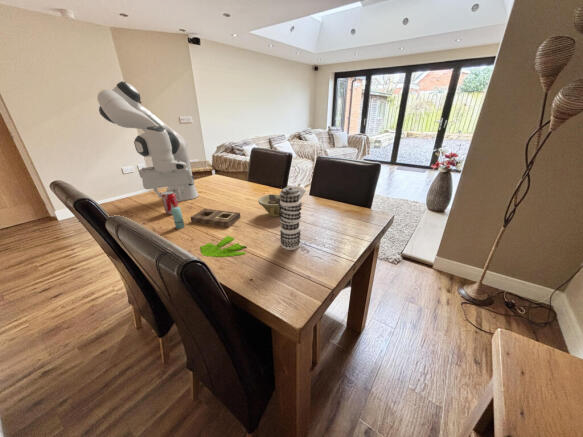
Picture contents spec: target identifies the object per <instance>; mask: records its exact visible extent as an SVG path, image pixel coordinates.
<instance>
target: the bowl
mask: <svg viewBox="0 0 583 437" xmlns="http://www.w3.org/2000/svg"><path fill="white" fill-rule="evenodd" d="M280 199H281V198H280V194H267V195H263V196H261V197H259V198H258V199H257V200H258V201H257V202H258V204H259V205H260V206H262V207H263V209H264V210H265V211H266V212H267V213H268V216H270V217H271V218H272V219H274V218H280V214H279V212H280V211H279V206H278V204H279V202H280ZM280 210H281V209H280Z"/></svg>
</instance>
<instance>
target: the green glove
mask: <svg viewBox="0 0 583 437" xmlns="http://www.w3.org/2000/svg"><path fill="white" fill-rule="evenodd" d="M234 240H235V238H234V237H232V236H229V235H227V236H225V237H224V238H223V239H222V240H221V241H219V242H218V243H217V244H215V245H214V244H213V243H210V242H207V243H206V244H205V245H201V246H200V247H199V248H200V254H201V255H202V254H203V256H205V257H212V258H228V257H236V256H237V257H238V256H243V255H247V252H246V251H243V249H247V248H248V247H247V246H245V245H241V244H240V243H239V242H237V243H234V244H231V246H228V247H224V246H226V245H228V244H230V243H232V242H233V241H234ZM221 248H222V249H221Z"/></svg>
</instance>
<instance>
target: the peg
mask: <svg viewBox="0 0 583 437" xmlns="http://www.w3.org/2000/svg"><path fill="white" fill-rule="evenodd" d="M171 210H172V214H171V215H172V218H173V223H174V225H175V229H177V230H181V229H184V228H185V222H184V217H183V212H182V209H181V207H180V206H178V207H174V208H172V209H171Z"/></svg>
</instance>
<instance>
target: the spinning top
mask: <svg viewBox="0 0 583 437" xmlns="http://www.w3.org/2000/svg"><path fill="white" fill-rule="evenodd" d="M293 187H294V188H297V190H298V191H300V194H299V199H300V200H301V199H302V198H303V197H304V195H306V194H305V193H306V188H305V186H304V185H302V183H301V182H297V184H296V185H295V186H293Z"/></svg>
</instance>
